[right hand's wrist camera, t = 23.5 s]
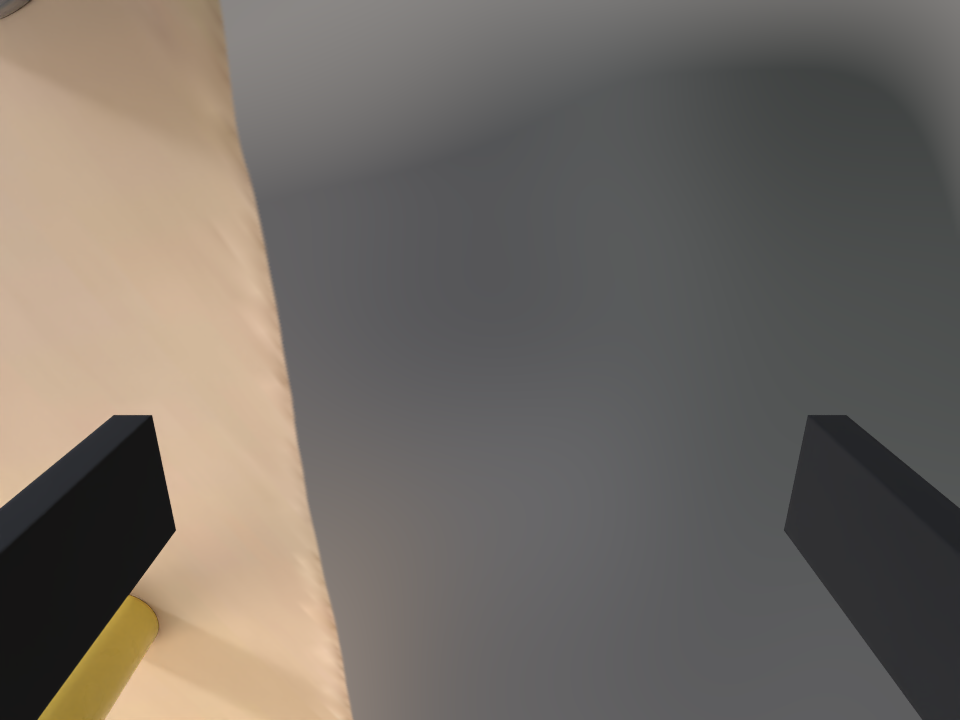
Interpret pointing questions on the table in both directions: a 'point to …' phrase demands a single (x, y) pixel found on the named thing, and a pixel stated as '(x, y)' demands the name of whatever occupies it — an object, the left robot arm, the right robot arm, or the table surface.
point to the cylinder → (106, 665)
